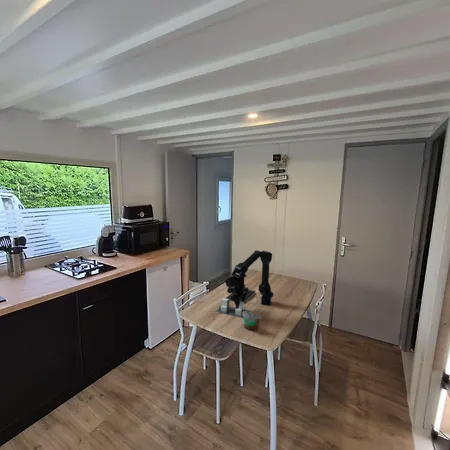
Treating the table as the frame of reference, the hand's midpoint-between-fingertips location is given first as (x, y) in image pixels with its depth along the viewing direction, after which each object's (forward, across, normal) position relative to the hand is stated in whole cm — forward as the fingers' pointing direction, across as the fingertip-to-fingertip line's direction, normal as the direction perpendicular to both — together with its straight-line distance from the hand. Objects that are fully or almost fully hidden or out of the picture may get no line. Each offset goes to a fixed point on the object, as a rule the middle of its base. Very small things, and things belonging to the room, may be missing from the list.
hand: (239, 305), depth 174 cm
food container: (+6, +15, +12) cm, 20 cm away
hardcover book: (+6, -26, -10) cm, 29 cm away
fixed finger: (+5, 0, -11) cm, 12 cm away
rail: (+6, 0, -5) cm, 8 cm away
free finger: (+5, 0, 0) cm, 5 cm away
